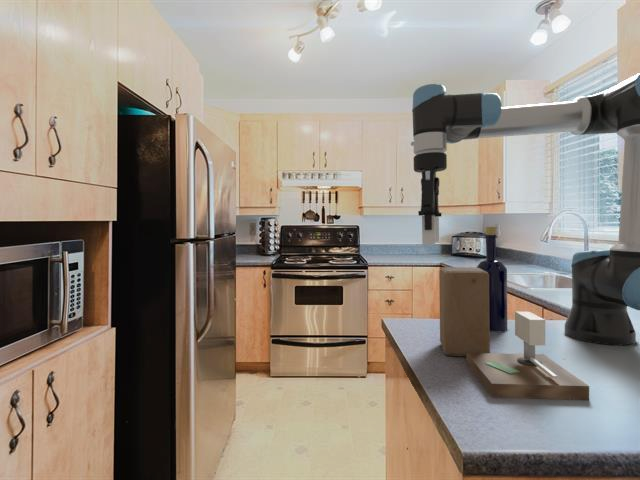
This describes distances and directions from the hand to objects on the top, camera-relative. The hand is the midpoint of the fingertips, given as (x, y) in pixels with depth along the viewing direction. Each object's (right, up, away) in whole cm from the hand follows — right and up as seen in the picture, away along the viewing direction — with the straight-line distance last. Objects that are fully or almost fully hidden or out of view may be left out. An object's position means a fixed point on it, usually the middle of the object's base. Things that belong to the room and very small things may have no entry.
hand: (431, 243), depth 87 cm
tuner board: (+13, -27, -15) cm, 33 cm away
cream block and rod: (+16, -23, -16) cm, 32 cm away
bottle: (+25, -25, +22) cm, 41 cm away
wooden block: (+8, -26, +2) cm, 28 cm away
